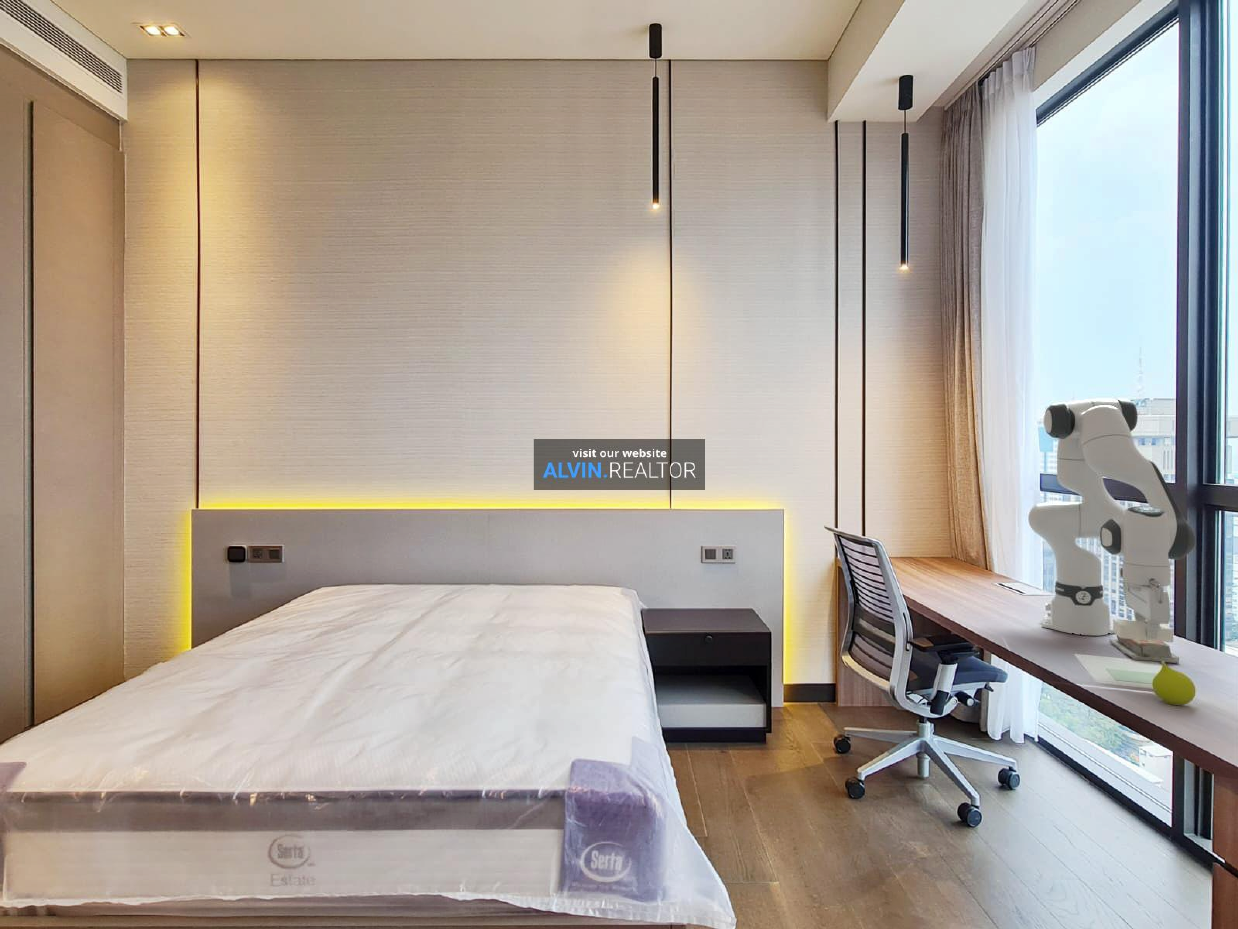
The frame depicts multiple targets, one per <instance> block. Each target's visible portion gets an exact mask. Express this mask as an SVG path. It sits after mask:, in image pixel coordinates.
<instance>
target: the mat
mask: <svg viewBox="0 0 1238 929" xmlns="http://www.w3.org/2000/svg"><path fill="white" fill-rule="evenodd" d="M1073 655H1074V656H1075V658H1076V659H1077V660H1078V662H1079V663H1080V664H1081V665H1082V667H1083V668H1084V669H1085V670H1086V671H1087V673H1088V674H1089V676H1091V678H1092V680H1094V682H1095V683H1096V684H1103V685H1113V686H1122V687H1132V688H1139V689H1151V690H1154V689H1153V685H1152V683H1153V679H1154V677H1155V676H1156V675H1157V674H1158V673H1159V672H1160V670H1161V669H1162V663H1161V662H1160V661H1147V660H1135V659H1133V658H1132V659H1131V658H1123V657H1112V656H1111V657H1110V656H1100V655H1091V654H1090V655H1089V654H1078V653H1073Z"/></svg>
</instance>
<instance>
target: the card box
mask: <svg viewBox="0 0 1238 929" xmlns="http://www.w3.org/2000/svg"><path fill="white" fill-rule="evenodd" d="M1112 624H1113V626H1112V627H1113V632H1114V633H1113V634H1115V635H1118V636H1119V637H1120V638H1128V639H1140V640H1151V641H1162V642H1164V643H1174V629H1173V628H1172V627H1171V626H1170V625H1169V624H1160V626H1159V629H1158V631H1157V638H1156V639H1150V638H1148V637H1147V636H1146V629H1147V621H1146V622H1144V621H1135V620H1132V619H1131V620H1127V619H1116V618H1113V619H1112Z"/></svg>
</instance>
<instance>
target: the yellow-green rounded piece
mask: <svg viewBox="0 0 1238 929" xmlns="http://www.w3.org/2000/svg"><path fill="white" fill-rule="evenodd" d="M1160 664H1161V665H1162V669H1161V670H1160V672H1159V673H1158V674H1157V675H1156V676H1155V677H1154V679H1153V683H1152V685H1153V689H1152V690H1153V691H1154V693H1155V695H1156V697H1158V698H1159V699H1160V700H1161V701H1163V702H1165V703H1167V704H1170V705H1174V706H1183V705H1186V704H1187V705H1188V704H1189V703H1190V702H1191V701H1193V699H1194V698H1195V697H1196V693H1197V692H1196V687H1195V686H1196V685H1195V684H1194V682H1193V681H1192V679H1191V678H1190V677H1189V676H1188V675H1186V674H1184V673H1183V672H1181V671H1178V670H1175V669H1173V668H1170V667H1169V666H1167V664H1166V662H1164V661H1161V662H1160Z"/></svg>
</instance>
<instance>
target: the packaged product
mask: <svg viewBox="0 0 1238 929" xmlns="http://www.w3.org/2000/svg"><path fill="white" fill-rule="evenodd" d="M1115 636H1116V638H1113V639H1111V638H1109V644H1111V645H1113V646H1115V647H1116V648H1117V649H1118V650H1120V651H1121V653H1123V654H1125V655H1127V656H1129V657H1131V658H1132V659H1134V660H1145V661H1156V662H1159V663H1161V661H1164V662H1165V663H1174V664H1179V663H1180V657H1179V656H1177V655H1175V654H1174V653H1172V652H1171V648H1170V645H1169V644H1167V642H1163V641H1151V640H1140V639H1128V638H1120V637H1119V636H1118V635H1117V634H1115Z"/></svg>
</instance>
